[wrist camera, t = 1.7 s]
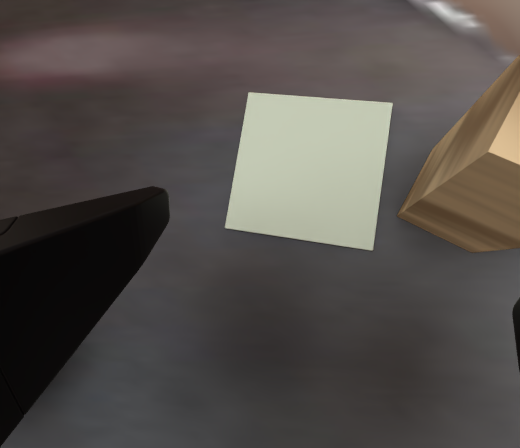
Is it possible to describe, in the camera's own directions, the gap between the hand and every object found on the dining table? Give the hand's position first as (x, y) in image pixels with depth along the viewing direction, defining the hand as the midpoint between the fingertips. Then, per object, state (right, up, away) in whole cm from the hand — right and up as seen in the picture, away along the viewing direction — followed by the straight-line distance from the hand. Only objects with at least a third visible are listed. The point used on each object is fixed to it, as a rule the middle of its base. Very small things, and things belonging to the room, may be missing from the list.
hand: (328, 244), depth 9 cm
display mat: (+2, +4, +16) cm, 16 cm away
